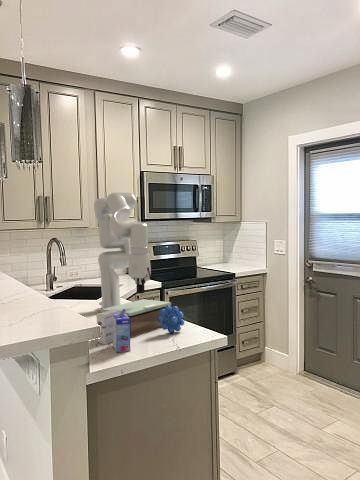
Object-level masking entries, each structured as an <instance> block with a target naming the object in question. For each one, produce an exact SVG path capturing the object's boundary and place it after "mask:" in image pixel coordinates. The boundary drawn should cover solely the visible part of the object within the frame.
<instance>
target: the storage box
mask: <svg viewBox="0 0 360 480" xmlns="http://www.w3.org/2000/svg"><path fill="white" fill-rule="evenodd" d="M161 309H165V307H162V308H158V309H154V310H151V311H147V312H144V313H140V314H136V315H133V316H128V317H129V318H130V339H131V338H133V337H134V338H135V337H138V336H140V335H143V334H146V333H150V332H152V331H155V330H159V329H162V327H161V324H162V323H160V322H159V320H158V317H159V316H162V315H161V314H160V310H161ZM158 328H159V329H158Z"/></svg>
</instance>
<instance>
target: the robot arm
mask: <svg viewBox="0 0 360 480" xmlns="http://www.w3.org/2000/svg"><path fill="white" fill-rule="evenodd" d="M136 206H137V199H136V196H135V195H134V194H133V193H132V192H112V193H109V195H108V196H107V197H101V198H97V199H95V201H94V203H93V211H94V215H95V217H96V220H97V223H98V234H99V236H98V237H99V245H100V247H101V248H102V249H104V250H110V249H111V250H112V249H120V250H112V251H111V250H110V251H104V252H101V253H100V254H99V255H98V257H97V259H98V267H99V271H100V285H101V302H99V304H98V305H99V306H101V307H100V308H99V313H102V309H105V308H109V307H113V306H117V305H121V295H120V294H121V293H120V291H121V290H120V288H121V287H120V277H119V274H118V273H117V272H116V271H115V270H116V269H127V268H128V272H127V273H128V276H129V277H130V278H131V279H132V280H134V284H135V285H136V294H139V295H141V294H145V284H146V282H148V281H151V278H150V277H151V274H152V272H151V271H152V267H151V266H152V265H151V259H150V255H149V237H148V235H149V234H148V232H149V231H148V224H147V223H144V222H140V221H139V222H138V221H136V222H135V221H133V222H132V221H130V222H125V221H127V220H128V219H129V218H131V215H132V211H133V210H134V209H135V208H136Z"/></svg>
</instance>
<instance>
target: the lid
mask: <svg viewBox="0 0 360 480" xmlns="http://www.w3.org/2000/svg"><path fill="white" fill-rule="evenodd" d="M166 305H170V306H172V302H171V301H165V300H164V301H163V300H162V301H161V300H153V299H144V298H142V299H138V300H135V301H130V302H126V303H122V304H121V303H120V305H117V306H113V307H109V308H105V309H102V312H106V311H109V310H119V311H120V314H121V312H122V311H123V309H125V313H126V315H127V316H133V315H136V314H140V313H144V312H147V311H151V310H154V309H158V308H162V307H165V306H166ZM102 312H101V313H102ZM123 313H124V311H123Z"/></svg>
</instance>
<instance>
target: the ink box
mask: <svg viewBox="0 0 360 480" xmlns="http://www.w3.org/2000/svg"><path fill="white" fill-rule="evenodd" d="M113 314H120V311H119V310H109V311H106V312H99V313H96V314H95V315H96V325H97V324H98V325H100V326H101V338H100V339H98V338H97V343H98V342H99V344H102V345H109V344H111V343H112V344H113Z"/></svg>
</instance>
